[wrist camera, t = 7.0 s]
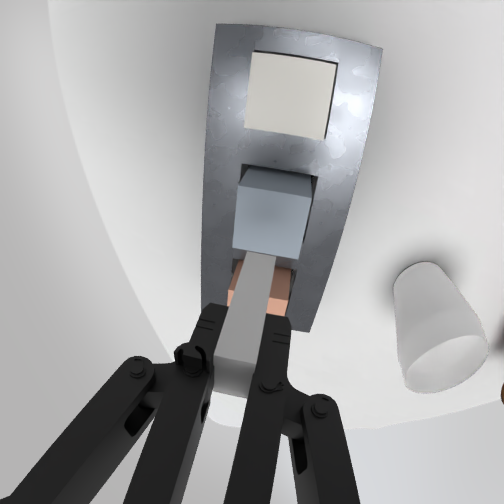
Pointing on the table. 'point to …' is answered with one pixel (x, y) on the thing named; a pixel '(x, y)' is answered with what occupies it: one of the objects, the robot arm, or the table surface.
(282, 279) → the terracotta key
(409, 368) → the cup
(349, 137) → the panel
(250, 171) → the slate key
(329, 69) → the ivory key
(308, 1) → the table surface
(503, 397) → the vase
